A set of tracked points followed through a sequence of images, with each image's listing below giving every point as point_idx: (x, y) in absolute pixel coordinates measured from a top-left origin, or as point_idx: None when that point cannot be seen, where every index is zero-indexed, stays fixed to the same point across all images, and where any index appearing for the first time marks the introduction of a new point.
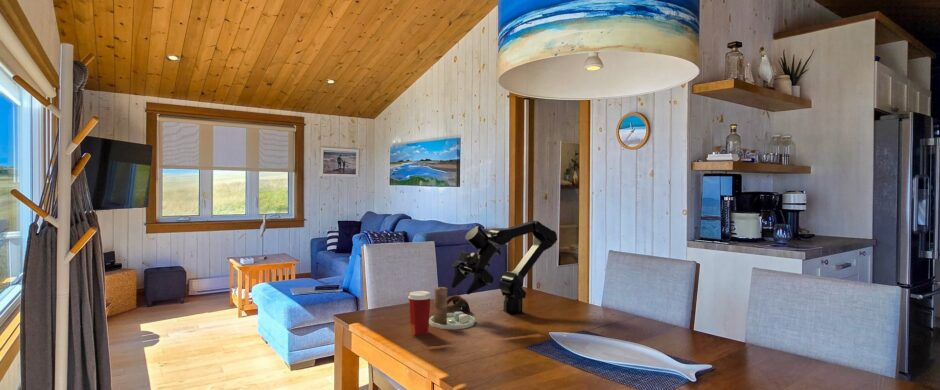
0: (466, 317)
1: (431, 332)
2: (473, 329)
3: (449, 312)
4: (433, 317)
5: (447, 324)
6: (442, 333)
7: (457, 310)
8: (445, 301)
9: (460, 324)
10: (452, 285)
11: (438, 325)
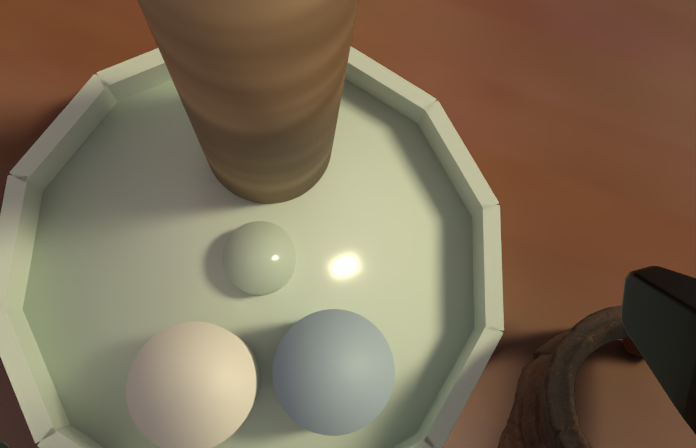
0: (129, 393)
1: (117, 15)
2: (3, 412)
3: (550, 339)
4: (426, 121)
5: (210, 192)
6: (41, 84)
7: (508, 422)
8: (155, 38)
9: (149, 315)
10: (657, 289)
11: (134, 63)
